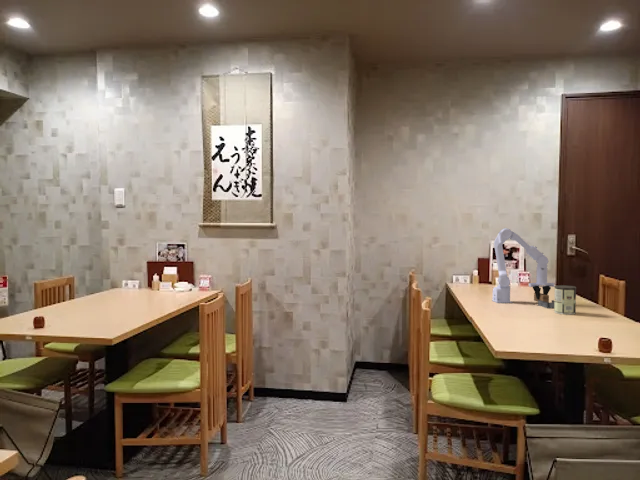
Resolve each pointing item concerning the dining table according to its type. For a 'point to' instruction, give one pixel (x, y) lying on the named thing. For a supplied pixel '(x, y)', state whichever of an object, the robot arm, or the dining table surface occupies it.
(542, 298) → the brown rectangular block
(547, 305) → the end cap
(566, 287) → the coffee can
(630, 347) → the dining table surface
